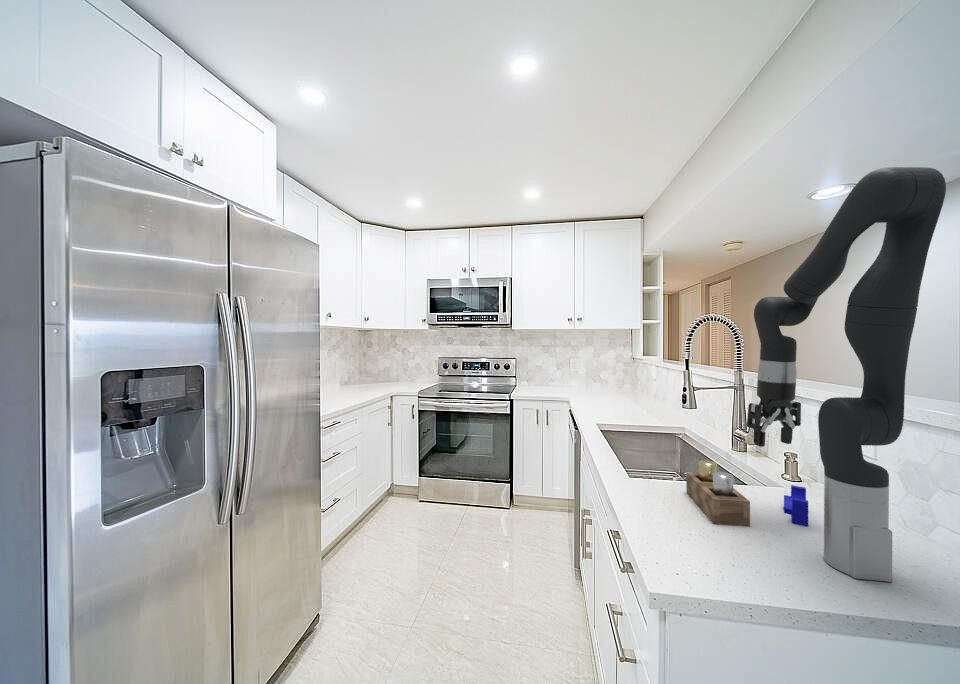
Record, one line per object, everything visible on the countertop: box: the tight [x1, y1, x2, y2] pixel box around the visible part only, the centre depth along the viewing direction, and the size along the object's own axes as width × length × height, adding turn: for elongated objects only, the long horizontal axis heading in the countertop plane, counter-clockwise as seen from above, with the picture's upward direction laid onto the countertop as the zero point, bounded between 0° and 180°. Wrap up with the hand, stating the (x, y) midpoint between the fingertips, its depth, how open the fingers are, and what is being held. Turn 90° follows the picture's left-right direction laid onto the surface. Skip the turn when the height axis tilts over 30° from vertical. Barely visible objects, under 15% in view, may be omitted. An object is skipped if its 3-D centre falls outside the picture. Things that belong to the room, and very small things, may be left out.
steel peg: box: [713, 471, 734, 497], centre depth 101 cm, size 4×4×6 cm
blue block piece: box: [783, 484, 809, 527], centre depth 101 cm, size 12×4×6 cm, turn 143°
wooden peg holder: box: [685, 471, 751, 528], centre depth 105 cm, size 20×8×6 cm, turn 170°
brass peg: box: [698, 459, 718, 482], centre depth 110 cm, size 4×4×6 cm
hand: (772, 444), depth 98 cm, fingers open, 8 cm apart
